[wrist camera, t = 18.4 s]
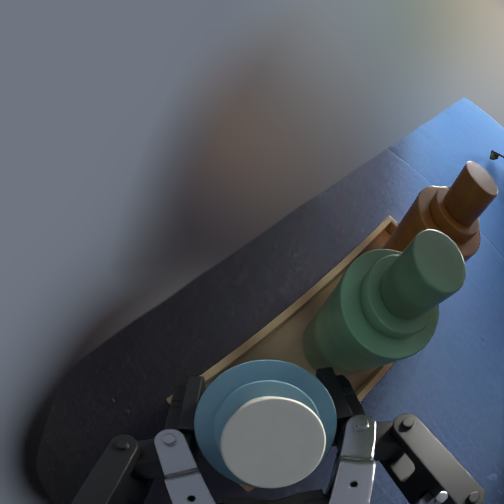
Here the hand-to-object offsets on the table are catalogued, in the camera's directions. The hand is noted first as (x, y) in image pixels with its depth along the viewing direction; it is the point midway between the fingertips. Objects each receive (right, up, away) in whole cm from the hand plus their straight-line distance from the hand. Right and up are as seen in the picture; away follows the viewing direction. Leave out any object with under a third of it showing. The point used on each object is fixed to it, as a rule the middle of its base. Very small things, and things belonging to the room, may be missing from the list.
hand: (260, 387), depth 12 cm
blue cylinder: (0, -5, +5) cm, 7 cm away
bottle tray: (+6, -1, +8) cm, 10 cm away
